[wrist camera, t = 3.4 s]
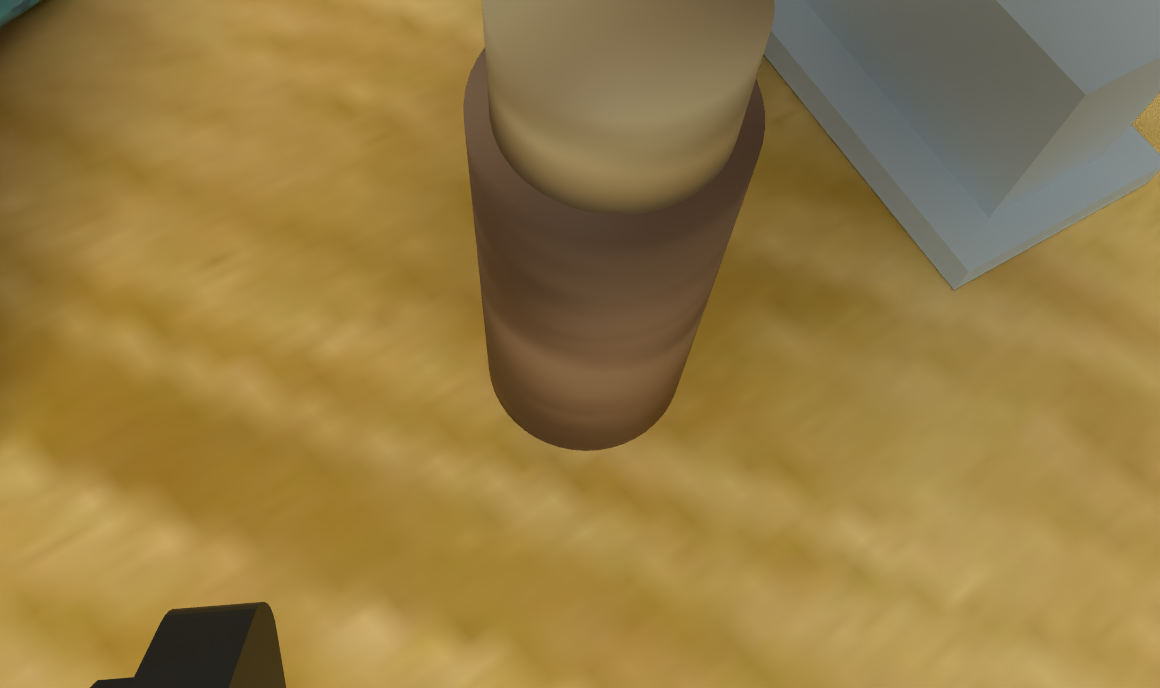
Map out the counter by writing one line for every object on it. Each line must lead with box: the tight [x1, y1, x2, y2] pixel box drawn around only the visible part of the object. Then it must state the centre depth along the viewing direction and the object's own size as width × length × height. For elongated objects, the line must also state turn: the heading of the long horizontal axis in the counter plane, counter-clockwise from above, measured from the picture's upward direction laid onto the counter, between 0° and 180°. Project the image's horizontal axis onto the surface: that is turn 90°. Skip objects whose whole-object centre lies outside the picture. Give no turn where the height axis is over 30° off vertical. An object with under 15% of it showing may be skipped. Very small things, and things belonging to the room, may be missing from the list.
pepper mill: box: [464, 0, 775, 451], centre depth 19 cm, size 5×5×12 cm
